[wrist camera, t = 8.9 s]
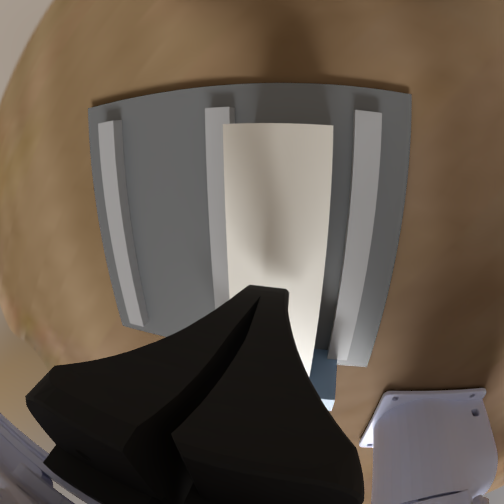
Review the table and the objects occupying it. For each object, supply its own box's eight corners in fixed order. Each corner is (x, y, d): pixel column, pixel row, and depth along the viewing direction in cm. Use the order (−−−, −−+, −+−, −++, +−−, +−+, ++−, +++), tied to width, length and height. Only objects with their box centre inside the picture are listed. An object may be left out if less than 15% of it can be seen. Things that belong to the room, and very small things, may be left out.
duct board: (409, 95, 11) (441, 83, 7) (366, 362, 18) (368, 415, 14) (92, 108, 15) (39, 112, 11) (125, 322, 22) (93, 356, 18)
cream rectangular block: (331, 126, 12) (333, 125, 8) (313, 339, 17) (305, 395, 13) (254, 124, 13) (222, 124, 9) (255, 332, 18) (235, 384, 14)
